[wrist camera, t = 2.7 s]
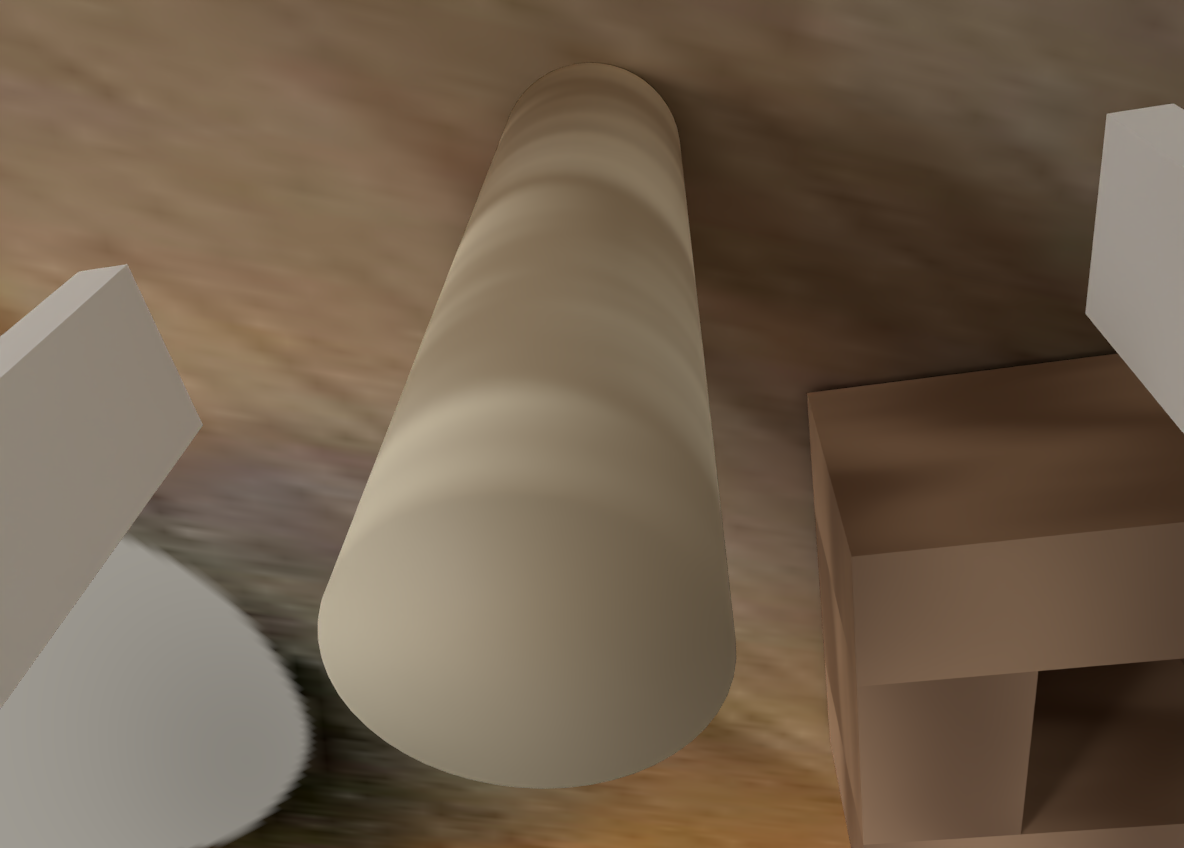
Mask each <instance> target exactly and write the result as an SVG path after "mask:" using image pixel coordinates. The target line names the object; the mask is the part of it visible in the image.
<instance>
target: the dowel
mask: <svg viewBox="0 0 1184 848" xmlns="http://www.w3.org/2000/svg"><path fill="white" fill-rule="evenodd" d="M318 642H319V647H320V652H321V657H322V661H323V663H324V666H325V669H326V671H327V674H328V676H329V678H330V680H331V682H332V684H333V685H334V687H335V689H336V691H337V693H338V694H339V696H340V697H341V698H342V700H343V701H344V702H345V703H346V705H347V706H348V707H349V709H350V710H351V711H352V712H353V713H354V714H355V715H356V716H357V717H358V718H359V719H360V720H361V721H362V722H363V723H364V724H365V725H366V726H367V727H368V728H369V729H370V730H372V731H373V732H374V733H375V734H377V735H378V736H379V737H381V738H382V739H383V740H384V741H386V742H387V743H389V744H391V745H392V746H394V747H395V748H397V749H398V750H400V751H402V752H403V753H405V754H407V755H409V756H411V757H413V758H415V759H417V760H419V761H421V762H423V763H425V764H427V765H430V766H432V767H435V768H437V769H440V770H442V771H445V772H447V773H451V774H454V775H457V776H461V777H464V778H467V779H471V780H476V781H480V782H485V783H490V784H495V785H503V786H510V787H519V788H540V789H545V788H568V787H577V786H585V785H592V784H597V783H601V782H606V781H611V780H615V779H618V778H621V777H624V776H628V775H631V774H634V773H637V772H639V771H641V770H644V769H646V768H648V767H651V766H653V765H655V764H657V763H659V762H661V761H663V760H664V759H666V758H668V757H670V756H672V755H673V754H675V753H676V752H678V751H679V750H680V749H682V748H683V747H685V746H686V745H687V744H689V743H690V742H691V741H692V740H693V739H694V738H696V737H697V736H698V735H699V734H700V733H701V732H702V731H703V730H704V729H705V728H706V727H707V726H708V724H709V723H710V722H711V720H712V719H713V718H714V717H715V715H716V714H717V713H718V711H719V709H720V708H721V706H722V704H723V702H724V700H725V699H726V697H727V695H728V692H729V689H730V686H731V683H732V680H733V677H734V670H735V664H736V639H735V630H734V621H733V612H732V603H731V594H730V585H729V576H728V567H727V558H726V549H725V540H724V532H723V523H722V514H721V505H720V496H719V487H718V478H717V469H716V460H715V451H714V442H713V433H712V424H711V415H710V406H709V397H708V389H707V380H706V371H705V362H704V353H703V344H702V335H701V326H700V317H699V308H698V299H697V290H696V281H695V272H694V263H693V254H692V245H691V237H690V228H689V219H688V210H687V201H686V192H685V183H684V174H683V165H682V156H681V147H680V139H679V134H678V129H677V126H676V123H675V120H674V118H673V116H672V114H671V112H670V110H669V108H668V106H667V105H666V103H665V102H664V100H663V99H662V97H661V96H660V95H659V94H658V93H657V92H656V91H655V89H654V88H653V87H651V86H650V85H649V84H648V83H647V82H645V81H644V80H643V79H641V78H640V77H638V76H637V75H635V74H633V73H631V72H629V71H627V70H625V69H622V68H619V67H616V66H613V65H608V64H602V63H580V64H573V65H569V66H565V67H562V68H559V69H557V70H554V71H552V72H550V73H548V74H546V75H545V76H543V77H541V78H540V79H539V80H537V81H536V82H535V83H533V84H532V85H531V86H530V87H529V88H528V89H527V90H526V91H525V92H524V93H523V94H522V96H521V97H520V98H519V100H518V101H517V103H516V104H515V106H514V108H513V110H512V112H511V114H510V116H509V119H508V121H507V124H506V126H505V129H504V132H503V134H502V137H501V139H500V142H499V144H498V147H497V150H496V152H495V155H494V157H493V160H492V162H491V165H490V168H489V170H488V173H487V175H486V178H485V181H484V183H483V186H482V188H481V191H480V193H479V196H478V199H477V201H476V204H475V206H474V209H473V211H472V214H471V217H470V219H469V222H468V224H467V227H466V229H465V232H464V235H463V237H462V240H461V242H460V245H459V248H458V250H457V253H456V255H455V258H454V260H453V263H452V266H451V268H450V271H449V273H448V276H447V278H446V281H445V284H444V286H443V289H442V291H441V294H440V296H439V299H438V302H437V304H436V307H435V309H434V312H433V314H432V317H431V320H430V322H429V325H428V327H427V330H426V333H425V335H424V338H423V340H422V343H421V345H420V348H419V351H418V353H417V356H416V358H415V361H414V363H413V366H412V369H411V371H410V374H409V376H408V379H407V381H406V384H405V387H404V389H403V392H402V394H401V397H400V400H399V402H398V405H397V407H396V410H395V412H394V415H393V418H392V420H391V423H390V425H389V428H388V430H387V433H386V436H385V438H384V441H383V443H382V446H381V448H380V451H379V454H378V456H377V459H376V461H375V464H374V466H373V469H372V472H371V474H370V477H369V479H368V482H367V485H366V487H365V490H364V492H363V495H362V497H361V500H360V503H359V505H358V508H357V510H356V513H355V515H354V518H353V521H352V523H351V526H350V528H349V531H348V533H347V536H346V539H345V541H344V544H343V546H342V549H341V551H340V554H339V557H338V559H337V562H336V564H335V567H334V570H333V572H332V575H331V577H330V580H329V582H328V585H327V588H326V590H325V593H324V595H323V598H322V601H321V606H320V611H319V617H318Z"/></svg>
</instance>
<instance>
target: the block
mask: <svg viewBox="0 0 1184 848" xmlns="http://www.w3.org/2000/svg"><path fill="white" fill-rule="evenodd" d="M807 402H808V417H809V432H810V447H811V462H812V477H813V492H814V507H815V522H816V537H817V552H818V567H819V583H820V598H821V613H822V628H823V643H824V658H825V673H826V688H827V703H828V718H829V733H830V743H831V748H832V754H833V759H834V764H835V769H836V774H837V779H838V784H839V789H840V794H841V799H842V804H843V809H844V814H845V819H846V824H847V829H848V834H849V839H850V844H851V848H1184V433H1183V432H1182V431H1181V430H1180V428H1179V427H1178V426H1177V425H1176V424H1175V422H1174V421H1173V420H1172V419H1171V418H1170V416H1169V415H1168V414H1167V413H1166V411H1165V410H1164V409H1163V408H1162V407H1161V405H1160V404H1159V403H1158V402H1157V400H1156V399H1155V398H1154V397H1153V396H1152V394H1151V393H1150V392H1149V391H1148V390H1147V388H1146V387H1145V386H1144V385H1143V383H1142V382H1141V381H1140V380H1139V379H1138V377H1137V376H1136V375H1135V374H1134V372H1133V371H1132V370H1131V369H1130V368H1129V366H1128V365H1127V364H1126V363H1125V361H1124V360H1123V359H1122V358H1121V357H1120V355H1119V354H1111V355H1103V356H1095V357H1087V358H1079V359H1072V360H1064V361H1056V362H1048V363H1040V364H1032V365H1024V366H1016V367H1008V368H1001V369H993V370H985V371H977V372H969V373H961V374H953V375H945V376H938V377H930V378H922V379H914V380H906V381H898V382H890V383H882V384H874V385H867V386H859V387H851V388H843V389H835V390H827V391H819V392H811V393H807Z"/></svg>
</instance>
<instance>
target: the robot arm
mask: <svg viewBox="0 0 1184 848" xmlns="http://www.w3.org/2000/svg"><path fill="white" fill-rule="evenodd" d="M1085 314H1086V315H1087V316H1088V318H1089V319H1090V320H1091V321H1092V323H1093V324H1094V325H1095V326H1096V327H1097V329H1098V330H1099V331H1100V332H1101V333H1102V335H1103V336H1104V337H1105V338H1106V340H1107V341H1108V342H1109V343H1110V344H1111V346H1112V347H1113V348H1114V349H1115V351H1116V352H1117V353H1118V354H1119V355H1120V357H1121V358H1122V359H1123V360H1124V361H1125V363H1126V364H1127V365H1128V366H1129V368H1130V369H1131V370H1132V371H1133V372H1134V374H1135V375H1136V376H1137V377H1138V379H1139V380H1140V381H1141V382H1142V383H1143V385H1144V386H1145V387H1146V388H1147V390H1148V391H1149V392H1150V393H1151V394H1152V396H1153V397H1154V398H1155V399H1156V400H1157V402H1158V403H1159V404H1160V405H1161V407H1162V408H1163V409H1164V410H1165V411H1166V413H1167V414H1168V415H1169V416H1170V418H1171V419H1172V420H1173V421H1174V422H1175V424H1176V425H1177V426H1178V427H1179V428H1180V430H1181V431H1182V432H1183V433H1184V109H1182V108H1180V107H1179V106H1177V105H1175V104H1174V103H1173V104H1166V105H1160V106H1153V107H1147V108H1140V109H1134V110H1127V111H1121V112H1114V113H1108V114H1107V117H1106V126H1105V135H1104V145H1103V154H1102V163H1101V172H1100V182H1099V191H1098V200H1097V210H1096V219H1095V228H1094V237H1093V247H1092V256H1091V265H1090V274H1089V284H1088V293H1087V302H1086V312H1085ZM202 426H203V424H202V422H201V420H200V418H199V416H198V413H197V411H196V409H195V407H194V405H193V403H192V401H191V399H190V396H189V394H188V392H187V390H186V388H185V386H184V384H183V382H182V379H181V377H180V375H179V373H178V371H177V369H176V367H175V365H174V362H173V360H172V358H171V356H170V354H169V352H168V350H167V348H166V345H165V343H164V341H163V339H162V337H161V335H160V333H159V330H158V328H157V326H156V324H155V322H154V320H153V318H152V316H151V313H150V311H149V309H148V307H147V305H146V303H145V301H144V299H143V296H142V294H141V292H140V290H139V288H138V286H137V284H136V282H135V279H134V277H133V275H132V273H131V271H130V269H129V267H128V265H127V264H125V265H119V266H112V267H106V268H99V269H93V270H86V271H80V272H77V273H76V274H75V275H74V276H73V277H71V278H70V279H69V280H68V281H67V282H65V283H64V284H63V285H62V286H61V287H59V288H58V289H57V290H56V291H55V292H53V293H52V294H51V295H50V296H49V297H47V298H46V299H45V300H44V301H43V302H41V303H40V304H39V305H38V306H37V307H35V308H34V309H33V310H32V311H31V312H29V313H28V314H27V315H26V316H25V317H23V318H22V319H21V320H20V321H19V322H17V323H16V324H15V325H14V326H13V327H11V328H10V329H9V330H8V331H7V332H5V333H4V334H3V335H2V336H1V337H0V709H1V707H2V706H3V704H4V703H5V702H6V700H7V699H8V697H9V696H10V695H11V693H12V692H13V691H14V689H15V688H16V686H17V685H18V683H19V682H20V681H21V679H22V678H23V677H24V675H25V674H26V672H27V671H28V670H29V668H30V667H31V665H32V664H33V663H34V661H35V660H36V658H37V657H38V655H39V654H40V653H41V651H42V650H43V648H44V647H45V646H46V644H47V643H48V641H49V640H50V639H51V637H52V636H53V635H54V633H55V632H56V630H57V629H58V627H59V626H60V625H61V623H62V622H63V621H64V619H65V618H66V616H67V615H68V614H69V612H70V611H71V609H72V608H73V607H74V605H75V604H76V602H77V601H78V600H79V598H80V597H81V595H82V594H83V592H84V591H85V590H86V588H87V587H88V585H89V584H90V583H91V581H92V580H93V579H94V577H95V576H96V574H97V573H98V572H99V570H100V569H101V567H102V566H103V564H104V563H105V562H106V560H107V559H108V558H109V556H110V555H111V553H112V552H113V550H114V549H115V548H116V546H117V545H118V544H119V542H120V541H121V539H122V538H123V537H124V535H125V534H126V532H127V531H128V530H129V528H130V527H131V525H132V524H133V523H134V521H135V520H136V518H137V517H138V516H139V514H140V513H141V511H142V510H143V509H144V507H145V506H146V504H147V503H148V502H149V500H150V499H151V497H152V496H153V495H154V493H155V492H156V490H157V489H158V488H159V486H160V485H161V483H162V482H163V481H164V479H165V478H166V476H167V475H168V474H169V472H170V471H171V469H172V468H173V467H174V465H175V464H176V462H177V461H178V460H179V458H180V457H181V455H182V454H183V453H184V451H185V450H186V448H187V447H188V446H189V444H190V443H191V441H192V440H193V439H194V437H195V436H196V434H197V433H198V432H199V430H200V429H201V427H202Z"/></svg>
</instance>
